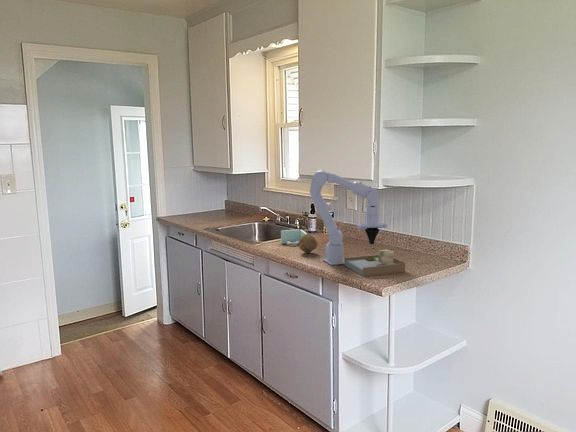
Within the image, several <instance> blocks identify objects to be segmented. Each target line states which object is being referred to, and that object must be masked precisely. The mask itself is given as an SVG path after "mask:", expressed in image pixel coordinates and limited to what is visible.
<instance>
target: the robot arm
mask: <svg viewBox="0 0 576 432" xmlns="http://www.w3.org/2000/svg"><path fill="white" fill-rule="evenodd" d="M310 181H311V183H310V188H309V195H310V197H311V200H312V201H313V203H314V205H315V208H316V209H317V212H318V213H319V215H320V218H321V220H322V222H323V225H324V226H325V229H326V232H327V234H328V240H329V241H328V242H327V244H326V245H325V247H324V250H325V253H324V254H325V255H324V259H323V261H324V262H325V263H327V264H328V265H330V266H334V265H335V266H336V265H344V261H345V260H344V242H343V239H344V238H343V232H342V230H341V229H340V228H339V227H338V225H337V224H336V222H335V220H334V218H333V216H332V213H331V211H330V209H329V208H328V205H327V204H326V201H325V199H324V196H323V195H322V193H321V192H322V189H323V187H324V185H325V184H326V183H327V184H332V183H335V184H337V185H340V186H342V187H345V188H347V189H349V190H350V192H351V194H354V195H356V196H358V197H360V198H362V199H366V209H365V213H366V214H365V223H362V224H356V230H359V231H360V230H364V231H365V234H366V236H367V238H368V244H369V245H374V244H375V242H376V238H377V236H378V234H379V232H380V229H387V228H388V224H387V223H385V222H381V223H380V220H379V218H380V217H379V215H380V212H379V210H380V205H379V204H380V201H379V200H380V198H381V196H380V195H381V194H380V192H379V191H378V190H377V189H376V188H375V187H372V186H371V185H369V186H368V185H366V184H363V182H362V181H358V180H357V181H354V182H352V181H350V180H348V179H346V178H344V177H342V176H340V175H337V174H336V173H332V172H329V171H325V170H323V169H319V170H317V171H315V173H314V174H313V177H312V178H311V180H310Z"/></svg>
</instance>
